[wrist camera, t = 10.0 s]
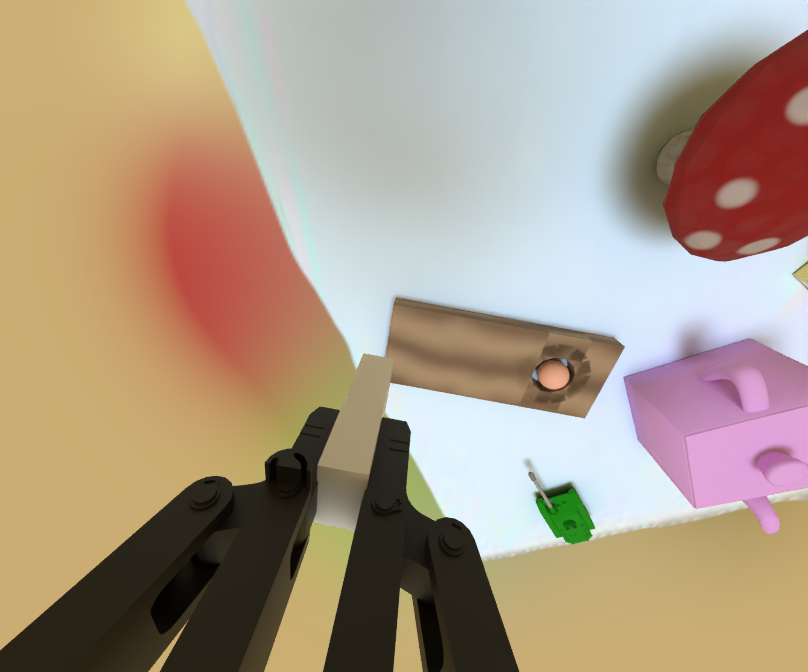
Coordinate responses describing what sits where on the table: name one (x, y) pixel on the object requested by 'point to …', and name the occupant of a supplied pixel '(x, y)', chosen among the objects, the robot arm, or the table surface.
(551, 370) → the coral ball
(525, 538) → the table surface
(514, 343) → the walnut board
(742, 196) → the decorative mushroom
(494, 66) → the table surface
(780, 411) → the teapot
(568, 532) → the toy tank
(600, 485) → the table surface
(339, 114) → the table surface
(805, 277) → the candy box
